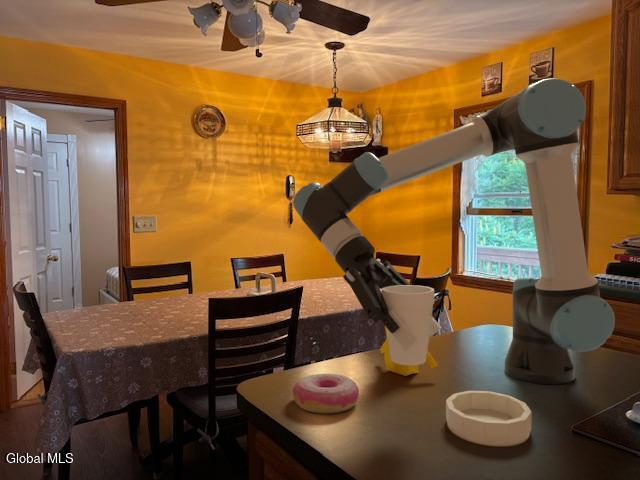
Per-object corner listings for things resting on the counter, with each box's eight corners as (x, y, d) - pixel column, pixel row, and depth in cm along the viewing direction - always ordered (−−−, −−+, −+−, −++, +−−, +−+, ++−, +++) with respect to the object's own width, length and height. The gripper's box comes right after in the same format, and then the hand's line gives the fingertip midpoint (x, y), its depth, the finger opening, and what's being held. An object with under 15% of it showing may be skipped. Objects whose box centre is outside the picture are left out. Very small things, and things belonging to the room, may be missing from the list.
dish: (517, 412, 91) (517, 392, 91) (540, 448, 77) (541, 424, 77) (442, 409, 93) (442, 389, 93) (452, 444, 79) (452, 421, 79)
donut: (369, 413, 92) (369, 388, 92) (303, 423, 89) (302, 397, 88) (346, 389, 105) (345, 366, 105) (287, 396, 101) (286, 373, 101)
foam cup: (435, 369, 81) (435, 294, 80) (381, 367, 83) (380, 293, 82) (433, 353, 90) (433, 285, 89) (384, 351, 92) (383, 284, 91)
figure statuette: (442, 378, 111) (442, 284, 109) (421, 386, 106) (421, 288, 104) (386, 360, 124) (385, 277, 123) (364, 367, 119) (364, 280, 118)
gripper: (367, 255, 104) (436, 337, 95) (302, 265, 86) (379, 367, 77) (388, 231, 100) (461, 314, 91) (325, 237, 82) (408, 340, 74)
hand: (424, 338), depth 84 cm, fingers closed on foam cup, 9 cm apart
